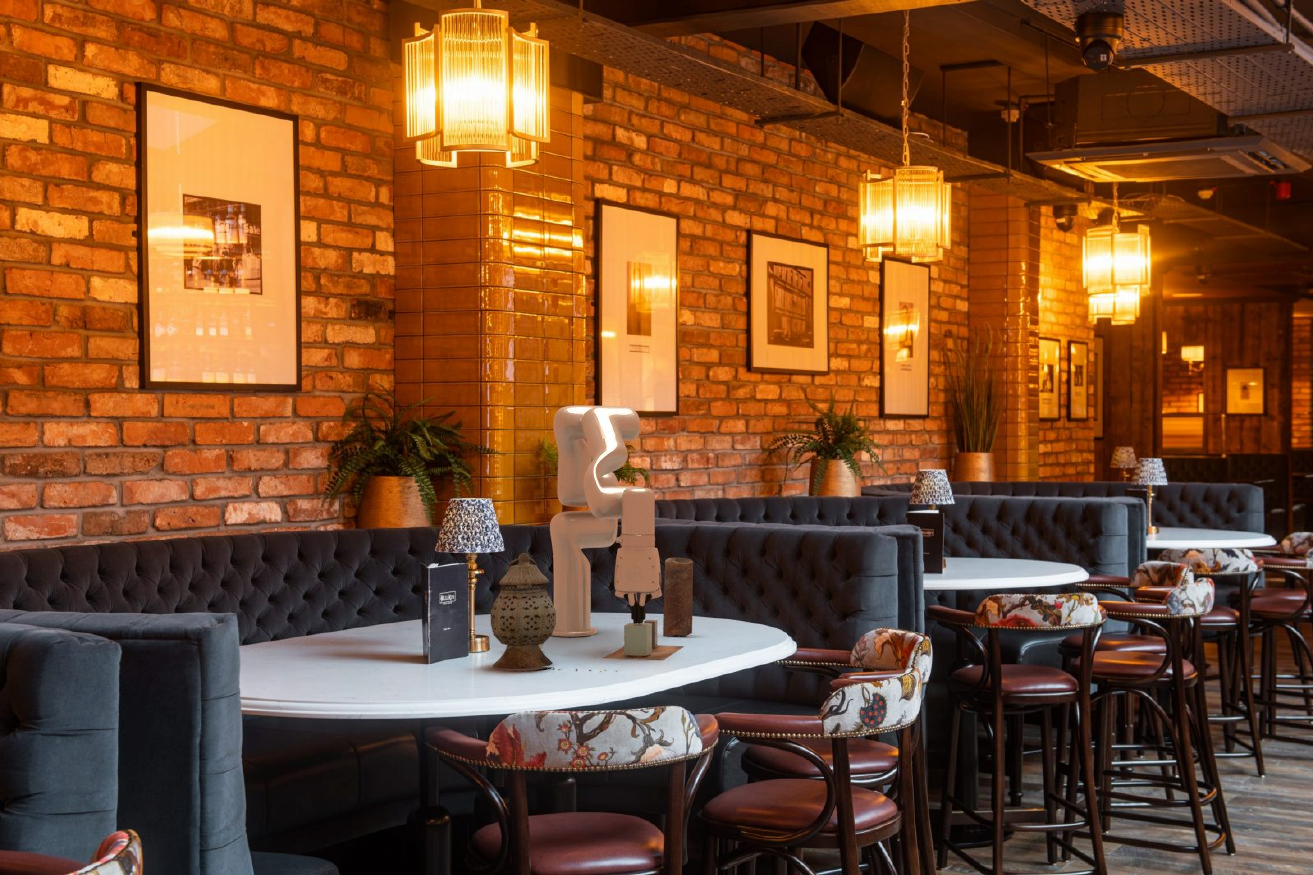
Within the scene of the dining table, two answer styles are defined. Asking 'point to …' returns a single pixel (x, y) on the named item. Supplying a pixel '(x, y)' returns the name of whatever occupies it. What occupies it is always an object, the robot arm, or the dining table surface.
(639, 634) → the olive block
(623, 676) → the dining table surface
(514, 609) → the lantern
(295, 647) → the dining table surface
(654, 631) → the brown post
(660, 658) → the board
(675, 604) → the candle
